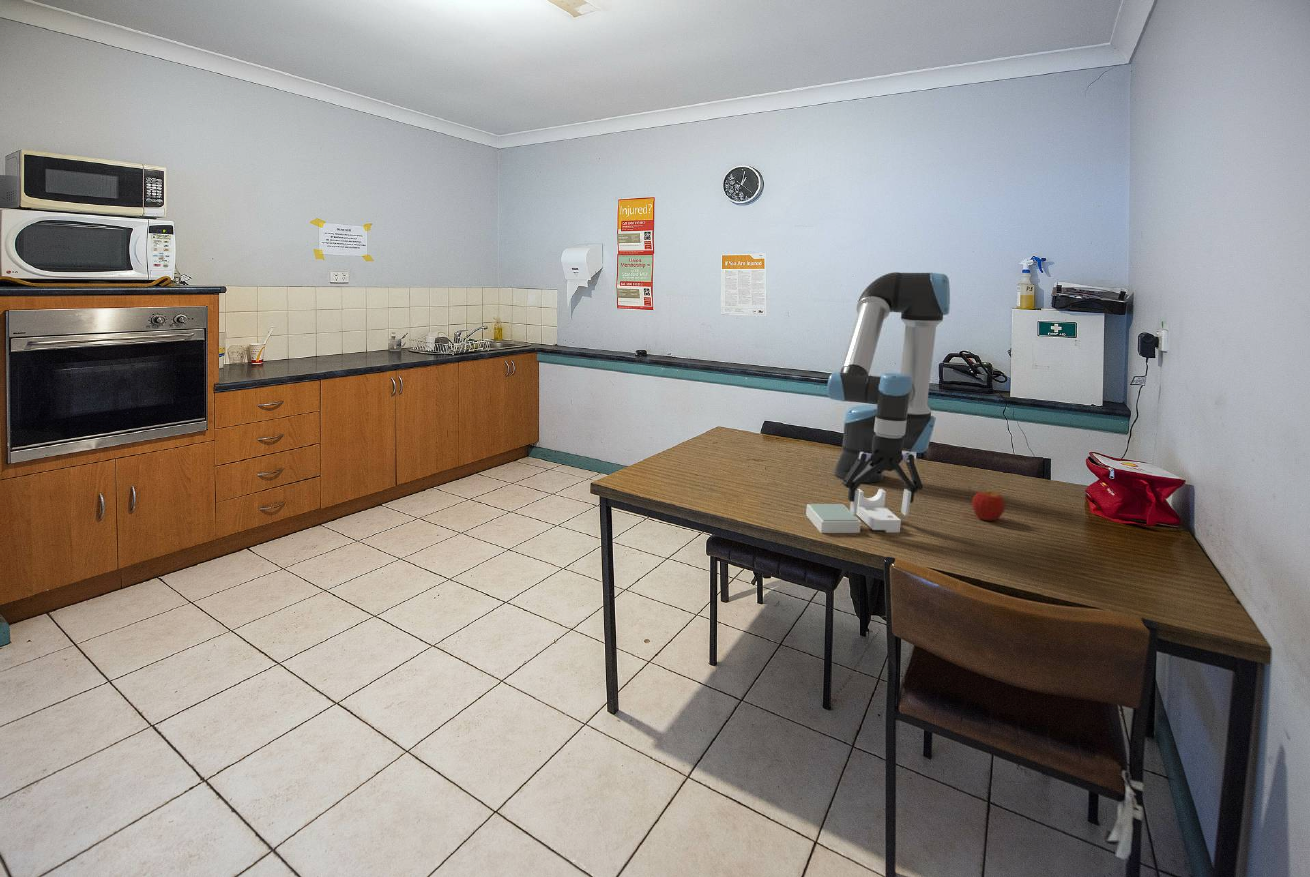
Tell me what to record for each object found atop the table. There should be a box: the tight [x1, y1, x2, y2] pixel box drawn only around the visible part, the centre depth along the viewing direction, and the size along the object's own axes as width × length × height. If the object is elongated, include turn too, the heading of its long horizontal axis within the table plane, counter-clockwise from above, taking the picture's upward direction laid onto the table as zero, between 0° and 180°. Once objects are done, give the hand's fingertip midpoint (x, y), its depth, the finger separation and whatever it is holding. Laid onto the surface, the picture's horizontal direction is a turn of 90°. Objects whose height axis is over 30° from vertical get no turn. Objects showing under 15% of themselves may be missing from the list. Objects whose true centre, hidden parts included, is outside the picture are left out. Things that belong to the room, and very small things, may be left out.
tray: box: [805, 503, 862, 534], centre depth 172 cm, size 10×13×3 cm
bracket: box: [856, 488, 902, 533], centre depth 172 cm, size 13×7×8 cm, turn 4°
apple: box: [971, 491, 1006, 521], centre depth 178 cm, size 8×8×8 cm
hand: (878, 514), depth 171 cm, fingers open, 13 cm apart
